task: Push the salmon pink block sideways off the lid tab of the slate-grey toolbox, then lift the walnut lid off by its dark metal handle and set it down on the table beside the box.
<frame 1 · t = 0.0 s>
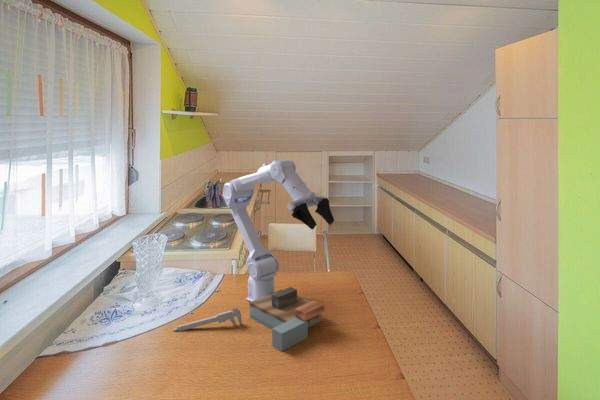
hand: (323, 224, 114), 32 cm above the table, tool tilted 50°, fingers open, 7 cm apart
caliper: (208, 328, 122), on the table
lid: (284, 307, 126), point 4 cm above the table, touching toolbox
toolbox: (284, 319, 126), on the table
salmon pink block: (309, 310, 117), point 7 cm above the table, slide at 0.0 cm
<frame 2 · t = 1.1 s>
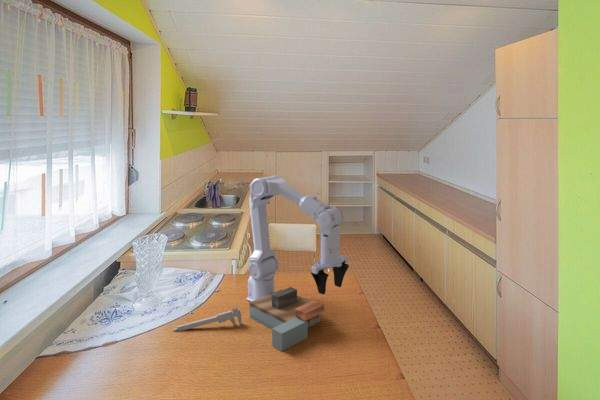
hand: (330, 289, 123), 10 cm above the table, tool pointing down, fingers open, 7 cm apart
nothing on the table moved.
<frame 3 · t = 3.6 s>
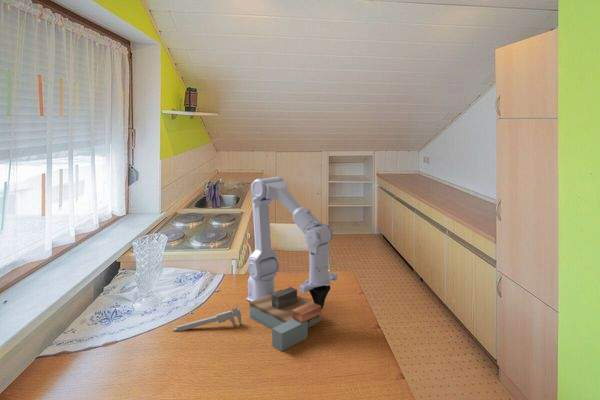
hand: (318, 308, 120), 6 cm above the table, tool pointing down, fingers closed
salmon pink block: (306, 311, 117), point 7 cm above the table, slide at 1.2 cm, touching gripper
everything else where it was.
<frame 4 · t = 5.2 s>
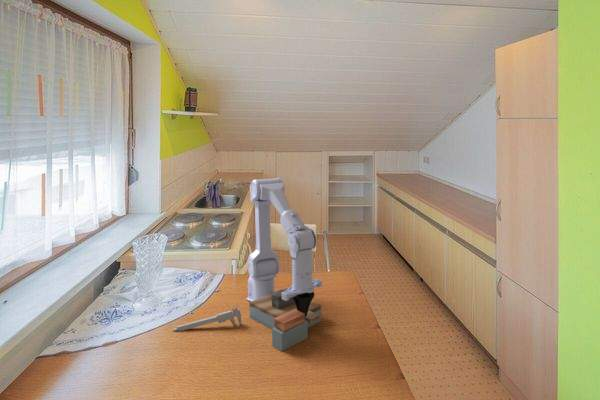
hand: (302, 316, 115), 6 cm above the table, tool pointing down, fingers closed
salmon pink block: (289, 319, 112), point 7 cm above the table, slide at 8.2 cm, touching gripper
everything else where it was.
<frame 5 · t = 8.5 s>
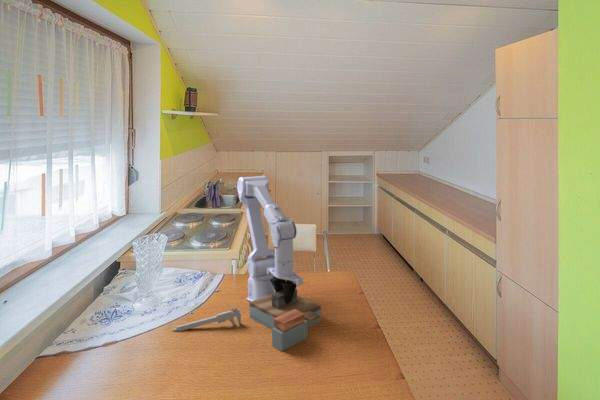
hand: (284, 300, 125), 6 cm above the table, tool pointing down, fingers closed on lid, 3 cm apart
lid: (284, 307, 126), point 4 cm above the table, touching gripper, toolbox
salmon pink block: (289, 319, 112), point 7 cm above the table, slide at 8.2 cm
everything else where it was.
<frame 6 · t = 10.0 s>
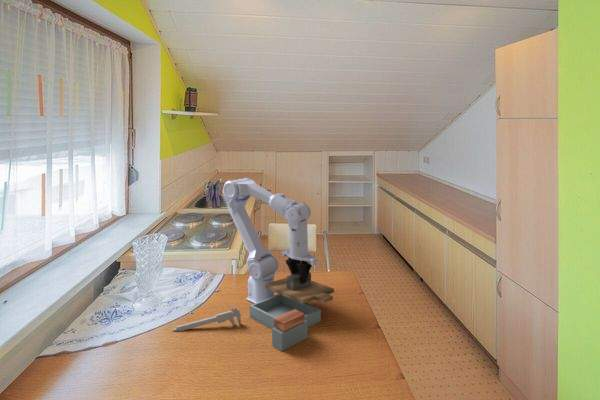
hand: (299, 281, 130), 10 cm above the table, tool pointing down, fingers closed on lid, 3 cm apart
lid: (298, 289, 130), point 8 cm above the table, touching gripper
everything else where it was.
when the fingers open (4 cm above the table, at t = 12.0 s): lid stays where it is, on the table.
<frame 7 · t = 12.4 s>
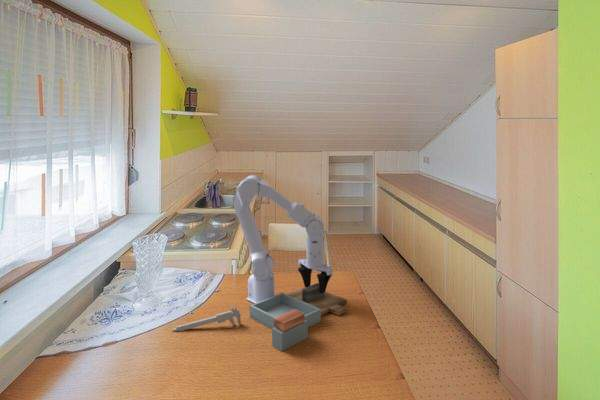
hand: (314, 289, 138), 4 cm above the table, tool pointing down, fingers open, 7 cm apart
lid: (313, 301, 138), on the table
everything else where it was.
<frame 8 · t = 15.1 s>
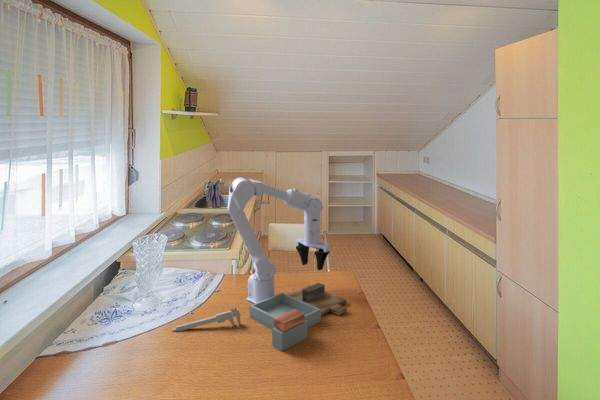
hand: (312, 266, 143), 10 cm above the table, tool pointing down, fingers open, 7 cm apart
nothing on the table moved.
at the end: salmon pink block slide at 8.2 cm; lid inside the target area (0.9 cm from its centre), on the table; the gripper is holding nothing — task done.
